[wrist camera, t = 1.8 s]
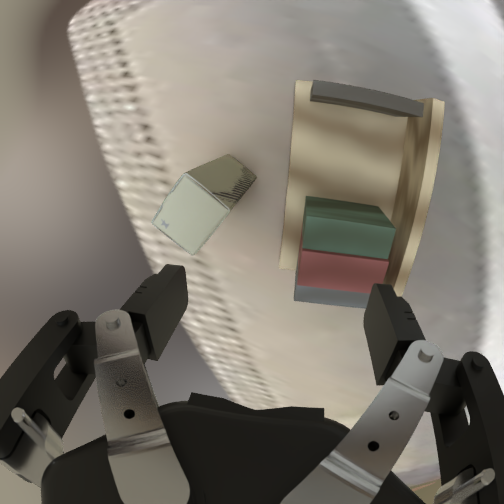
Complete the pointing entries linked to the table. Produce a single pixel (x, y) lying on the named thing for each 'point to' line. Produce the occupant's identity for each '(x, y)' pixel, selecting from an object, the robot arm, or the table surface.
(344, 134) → the shelf
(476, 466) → the robot arm
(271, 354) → the table surface
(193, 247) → the box
